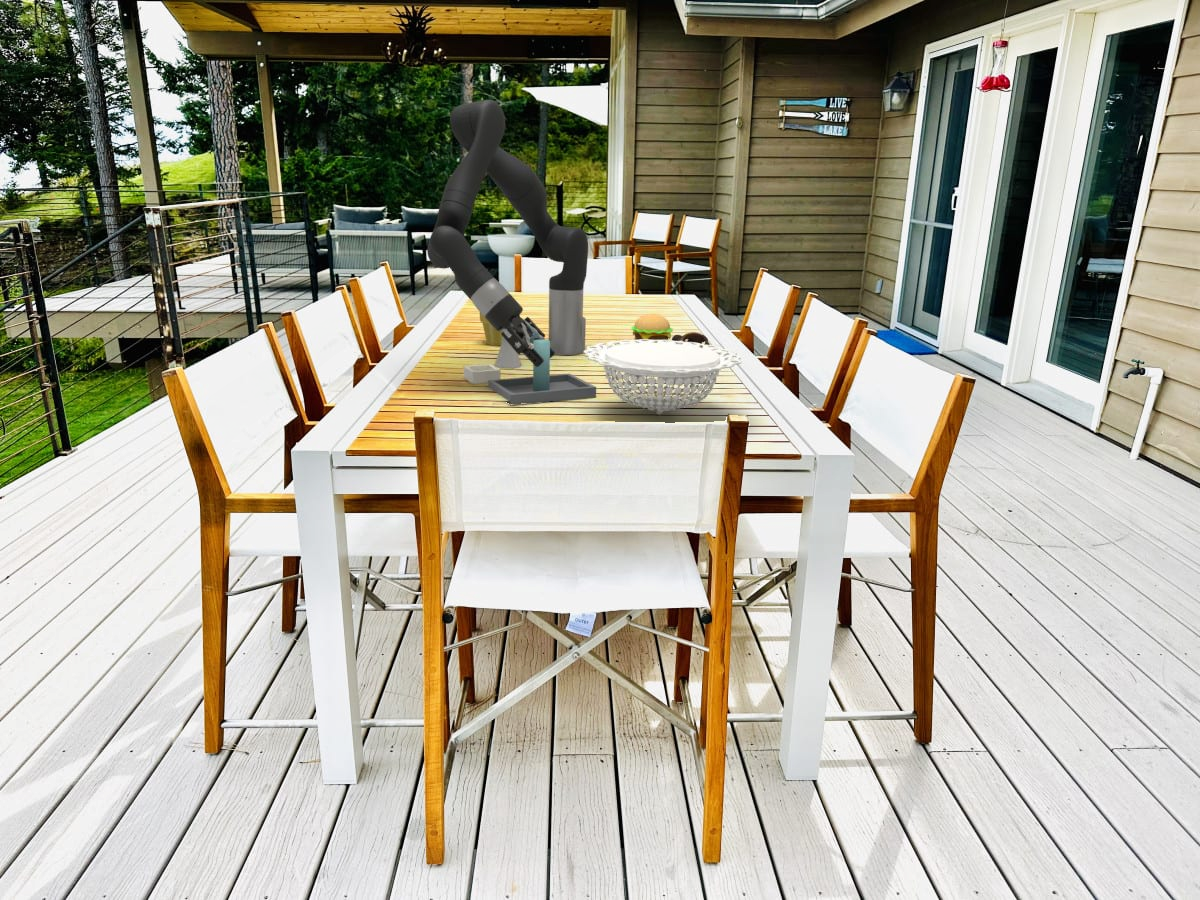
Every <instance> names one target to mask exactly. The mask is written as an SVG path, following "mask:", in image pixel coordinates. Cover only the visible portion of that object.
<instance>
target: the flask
mask: <svg viewBox="0 0 1200 900" xmlns="http://www.w3.org/2000/svg"><path fill="white" fill-rule="evenodd" d="M504 330H505V329H503V330H502V332H503V331H504ZM493 366H494V367H496V368H498V369H507V370H509V369H512V370H513V369H519V368H521V367H522V366H523V364H522V361H521V359H520V356H519V354H518V353H517V352H516V351H515V350H514V349H513V348H512V346H511V345H510V344H509V343H508V342H507V341H506V339H505V338H504V337H503V336H502V343H501V346H500V349H499V351H498V354H497V358H496V360H495V362H494V365H493Z"/></svg>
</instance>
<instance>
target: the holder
mask: <svg viewBox="0 0 1200 900" xmlns="http://www.w3.org/2000/svg"><path fill="white" fill-rule="evenodd" d="M462 367H463V369H462V370H463V373H462V374H463V379H464V380H466V381H467V382H469V383H471V384H472V385H477V384H488V380H496V379H501V369H500V368H498V367H494V365H492V364H490V363H488V364H487V363H485V364H477V365H476V364H474V365H463V366H462Z"/></svg>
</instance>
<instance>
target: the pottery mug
mask: <svg viewBox="0 0 1200 900" xmlns="http://www.w3.org/2000/svg"><path fill="white" fill-rule="evenodd" d="M671 340H672V341H683V342H695V343H700V344H704V345H711V344H710V342H709V339H708V338H707V337H706V335H704V334H702V333H700V332H696V331H695V332H694V331H693V332H692V331H691V332H687V333H685V334H683V335H681V334H675V335H672V336H671ZM686 340H687V341H686ZM676 344H677V343H676ZM695 345H696V344H695ZM701 348H703V346H701Z"/></svg>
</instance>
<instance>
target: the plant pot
mask: <svg viewBox="0 0 1200 900" xmlns="http://www.w3.org/2000/svg"><path fill="white" fill-rule="evenodd" d="M479 321H480V322H481V324H482V327H483V331H484V332H483V333H484V338H485V342H486V344H487V345H489V344H490V345H489V346H494V345H501V343H502V335H501V333H502V331H497V330H496V329H495V328H494V327H493V326H492V325H491V324H490V323H489V322H488V320H487V319H486V318H485V317H484V316H483V315H482V314H481V313H480V312H479Z"/></svg>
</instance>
